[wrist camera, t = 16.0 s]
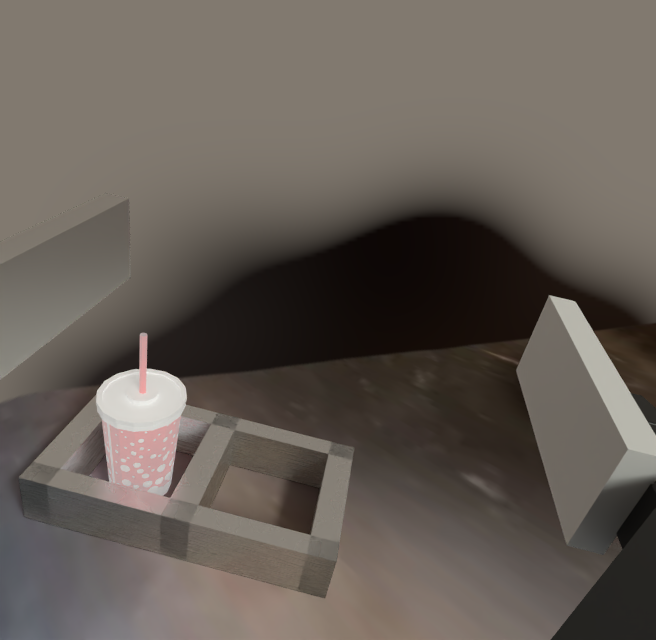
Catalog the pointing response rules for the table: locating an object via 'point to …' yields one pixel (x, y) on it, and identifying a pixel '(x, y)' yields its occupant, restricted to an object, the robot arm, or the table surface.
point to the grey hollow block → (199, 497)
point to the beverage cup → (141, 425)
